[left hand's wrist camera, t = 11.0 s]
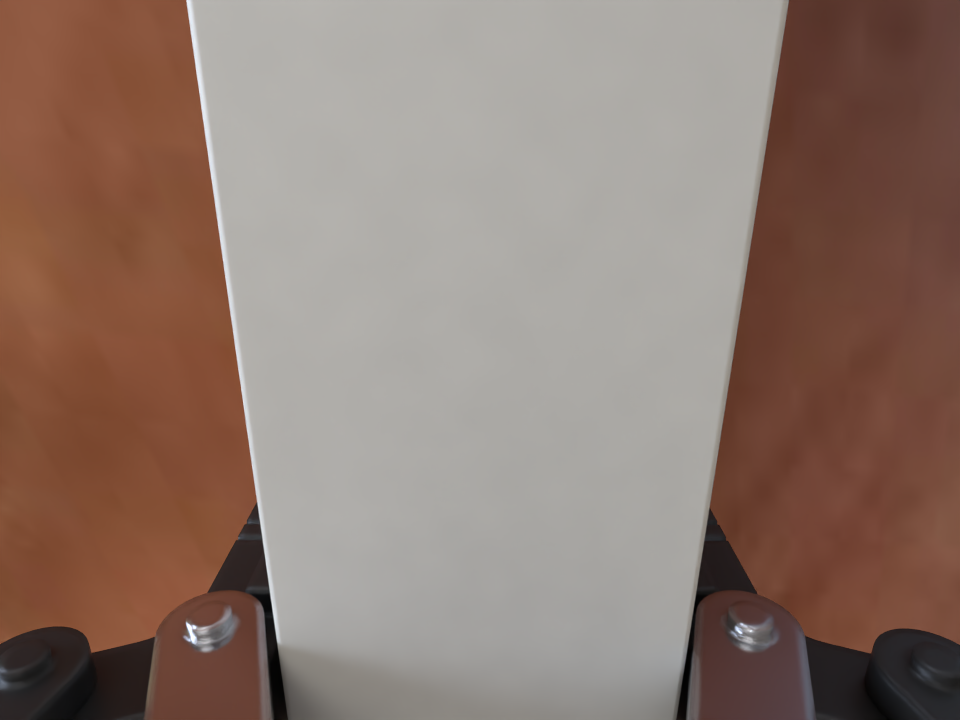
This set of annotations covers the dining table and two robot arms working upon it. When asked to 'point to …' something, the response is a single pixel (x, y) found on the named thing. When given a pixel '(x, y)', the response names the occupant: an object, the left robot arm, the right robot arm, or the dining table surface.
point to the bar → (485, 334)
